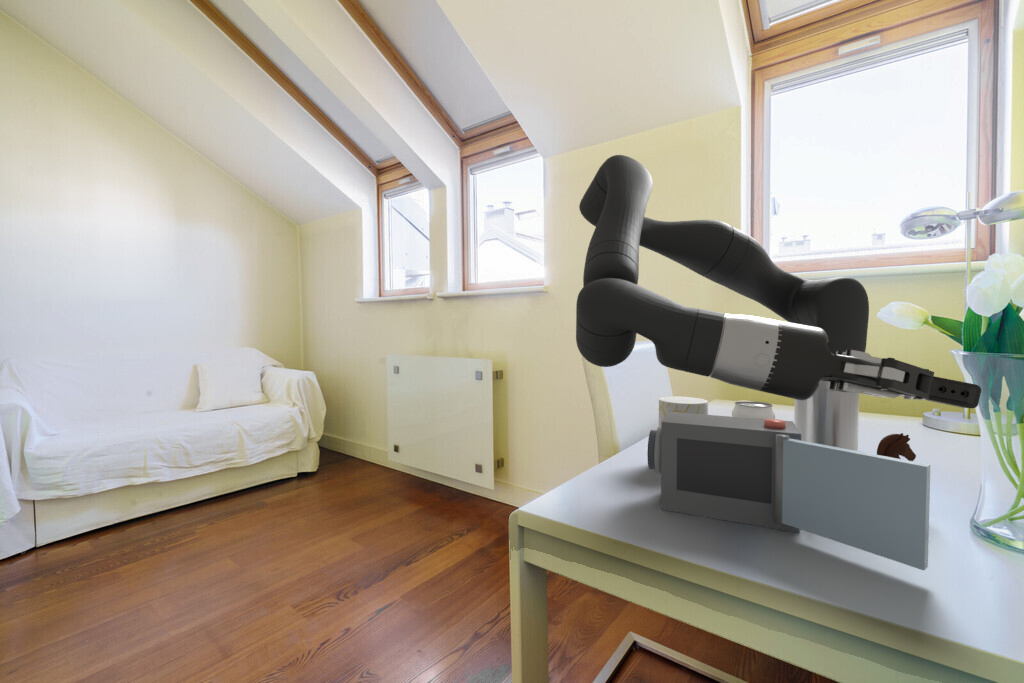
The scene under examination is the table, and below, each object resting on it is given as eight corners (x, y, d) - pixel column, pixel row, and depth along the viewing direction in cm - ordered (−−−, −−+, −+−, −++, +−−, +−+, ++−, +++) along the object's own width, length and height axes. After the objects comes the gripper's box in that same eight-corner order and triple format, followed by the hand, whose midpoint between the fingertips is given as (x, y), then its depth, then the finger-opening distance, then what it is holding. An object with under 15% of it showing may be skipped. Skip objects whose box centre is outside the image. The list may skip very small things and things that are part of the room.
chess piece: (929, 511, 59) (931, 437, 59) (890, 511, 59) (891, 437, 59) (900, 498, 64) (902, 430, 64) (864, 498, 64) (865, 429, 64)
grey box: (654, 487, 68) (654, 405, 68) (791, 508, 60) (792, 415, 60) (645, 506, 61) (646, 414, 61) (799, 532, 53) (801, 427, 53)
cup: (649, 466, 79) (650, 399, 79) (671, 457, 84) (672, 395, 84) (694, 477, 73) (695, 405, 73) (715, 467, 78) (715, 400, 78)
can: (780, 481, 71) (782, 407, 71) (737, 479, 72) (738, 406, 72) (766, 469, 77) (767, 401, 77) (726, 467, 78) (727, 400, 78)
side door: (923, 574, 42) (926, 463, 42) (772, 522, 53) (773, 435, 53) (930, 567, 43) (932, 460, 43) (780, 518, 54) (781, 432, 54)
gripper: (788, 310, 40) (1042, 353, 34) (758, 326, 52) (939, 360, 46) (769, 391, 40) (1021, 448, 34) (743, 388, 52) (924, 429, 46)
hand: (973, 397), depth 40 cm, fingers closed
